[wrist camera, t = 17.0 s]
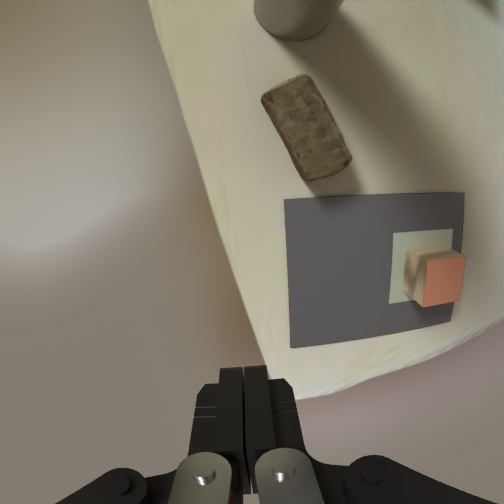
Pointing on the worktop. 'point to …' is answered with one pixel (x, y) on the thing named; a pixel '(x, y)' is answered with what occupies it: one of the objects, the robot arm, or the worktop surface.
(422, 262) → the maple cube
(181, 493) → the robot arm
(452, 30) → the worktop surface
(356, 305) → the rubber mat
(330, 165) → the stone block
